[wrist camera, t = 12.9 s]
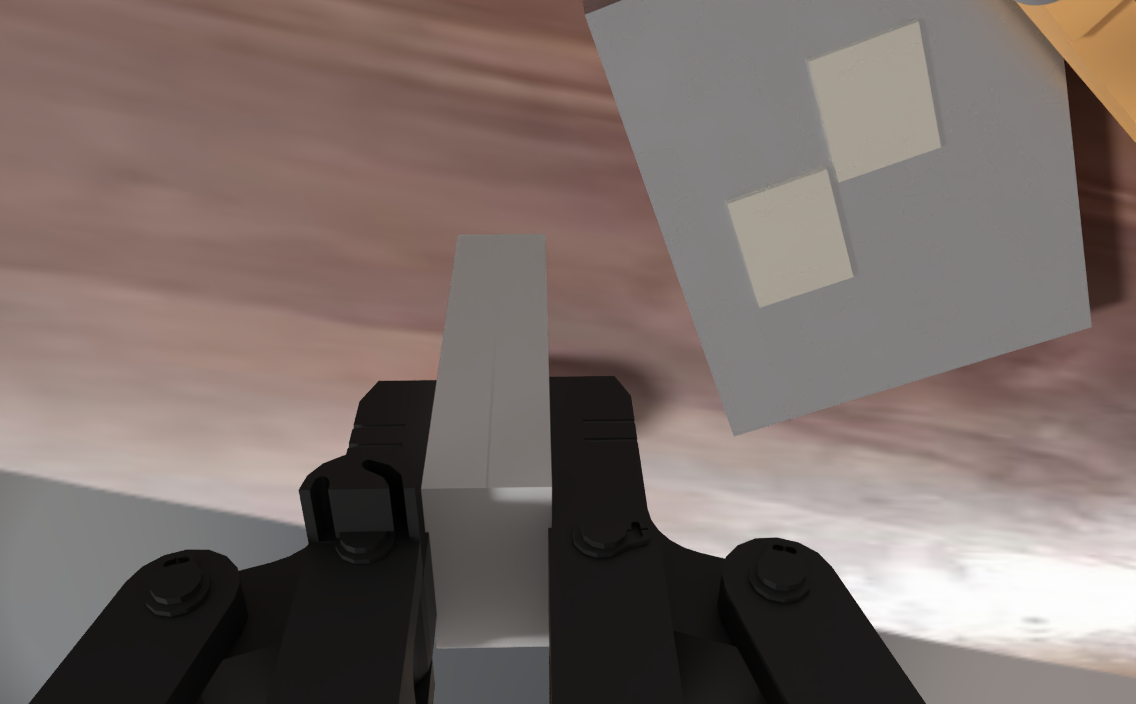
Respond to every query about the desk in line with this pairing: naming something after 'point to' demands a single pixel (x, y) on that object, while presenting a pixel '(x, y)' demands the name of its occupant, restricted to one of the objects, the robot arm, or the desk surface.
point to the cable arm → (1095, 47)
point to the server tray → (851, 186)
